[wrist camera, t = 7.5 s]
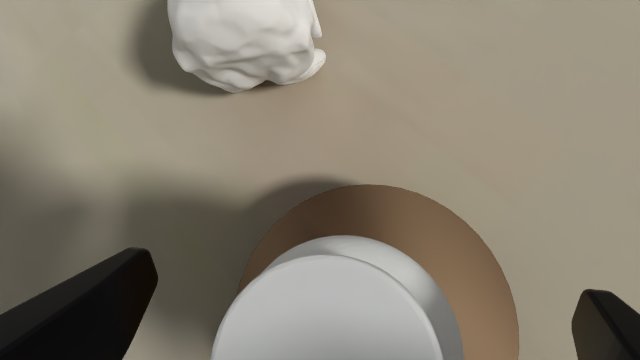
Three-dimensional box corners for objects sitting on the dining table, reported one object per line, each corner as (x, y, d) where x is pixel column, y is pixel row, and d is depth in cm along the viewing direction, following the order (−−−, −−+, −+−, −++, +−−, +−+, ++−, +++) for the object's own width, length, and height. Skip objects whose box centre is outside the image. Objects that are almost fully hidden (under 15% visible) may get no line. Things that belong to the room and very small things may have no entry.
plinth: (303, 491, 17) (285, 530, 15) (229, 250, 21) (202, 244, 18) (549, 399, 17) (580, 421, 14) (431, 164, 20) (436, 143, 17)
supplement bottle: (273, 353, 16) (108, 440, 7) (335, 232, 17) (261, 165, 8) (398, 432, 15) (400, 677, 5) (459, 296, 15) (553, 307, 6)
